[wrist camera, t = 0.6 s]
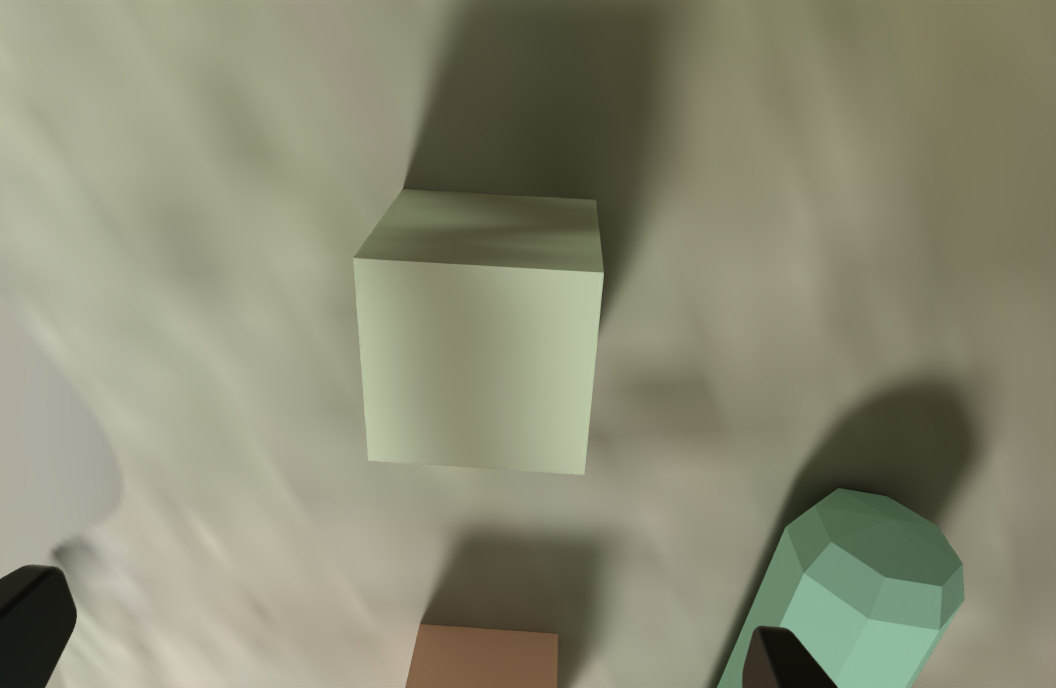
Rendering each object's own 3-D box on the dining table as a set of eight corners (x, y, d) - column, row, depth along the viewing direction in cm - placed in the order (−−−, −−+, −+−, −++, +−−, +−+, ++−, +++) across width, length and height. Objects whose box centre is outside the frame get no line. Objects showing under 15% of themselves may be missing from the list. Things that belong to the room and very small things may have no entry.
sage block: (596, 199, 19) (603, 272, 15) (581, 367, 21) (584, 474, 17) (403, 188, 19) (352, 258, 15) (409, 356, 21) (368, 460, 17)
